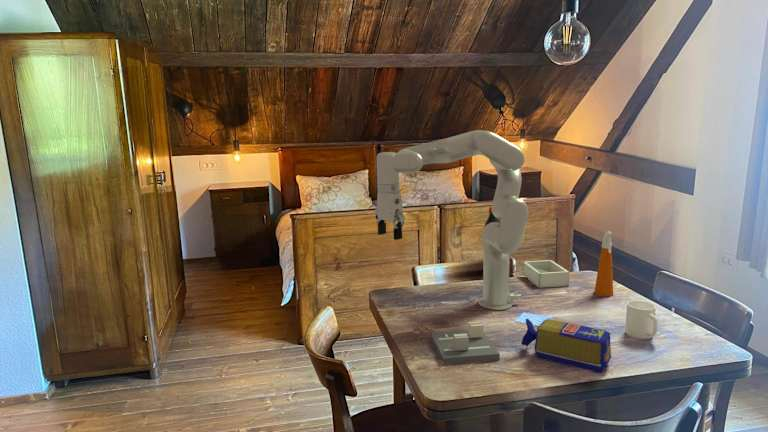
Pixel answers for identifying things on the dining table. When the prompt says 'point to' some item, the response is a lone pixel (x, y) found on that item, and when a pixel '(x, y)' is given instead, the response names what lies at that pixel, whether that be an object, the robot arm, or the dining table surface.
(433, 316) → the dining table surface
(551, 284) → the frame
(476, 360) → the console
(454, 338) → the fader
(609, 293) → the spray bottle
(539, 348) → the bread
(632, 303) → the cup
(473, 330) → the fader
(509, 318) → the dining table surface
